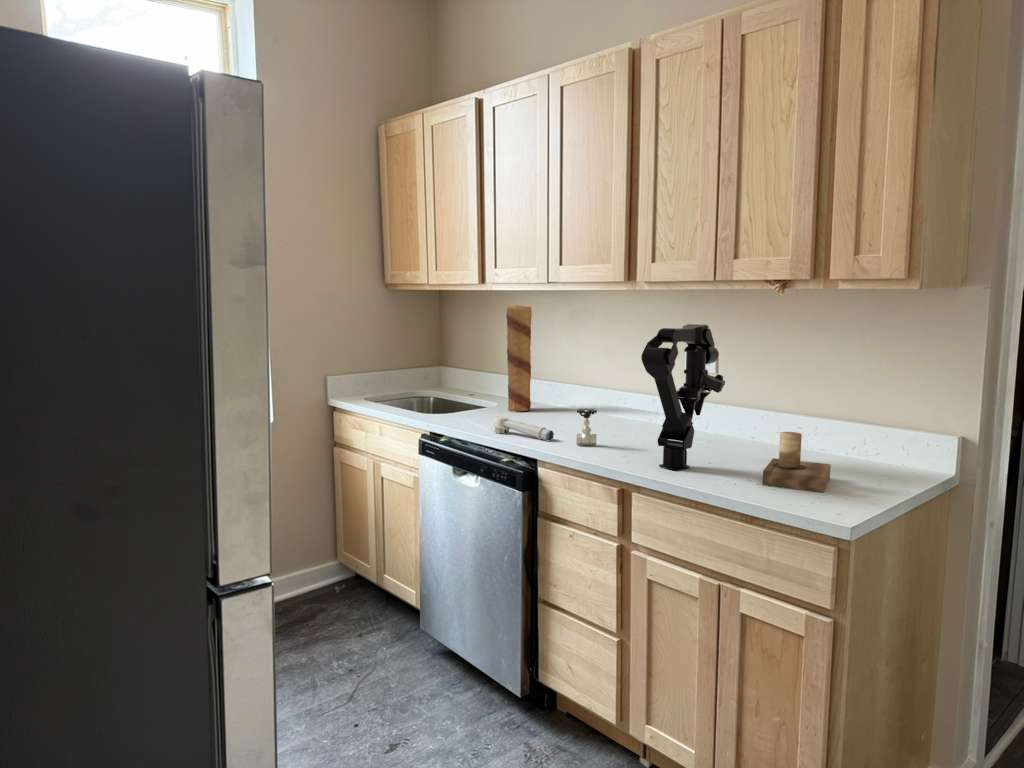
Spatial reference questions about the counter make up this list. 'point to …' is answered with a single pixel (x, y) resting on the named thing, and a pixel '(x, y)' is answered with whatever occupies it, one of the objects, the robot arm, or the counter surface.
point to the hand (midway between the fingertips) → (694, 417)
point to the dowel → (790, 450)
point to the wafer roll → (519, 357)
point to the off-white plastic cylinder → (522, 428)
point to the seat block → (798, 476)
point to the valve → (586, 429)
